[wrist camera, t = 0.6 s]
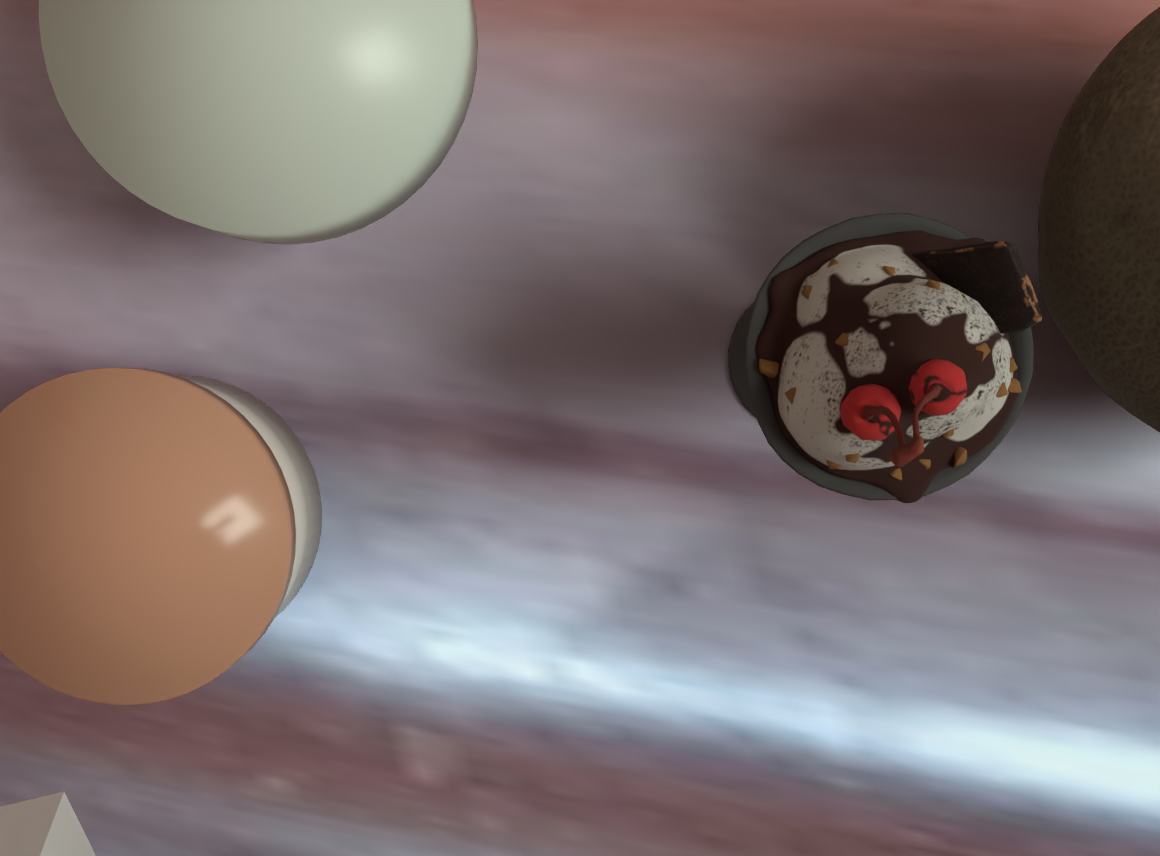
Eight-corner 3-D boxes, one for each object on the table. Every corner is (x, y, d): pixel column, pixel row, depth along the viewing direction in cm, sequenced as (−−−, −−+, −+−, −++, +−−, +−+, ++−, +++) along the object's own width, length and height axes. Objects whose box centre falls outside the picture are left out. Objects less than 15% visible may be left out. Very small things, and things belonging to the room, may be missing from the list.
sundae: (710, 468, 33) (795, 556, 18) (695, 267, 33) (769, 191, 18) (908, 452, 33) (1156, 528, 18) (895, 249, 33) (1139, 158, 18)
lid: (551, 115, 28) (545, 91, 25) (220, 316, 28) (183, 312, 26) (346, -236, 27) (320, -295, 25) (15, -23, 28) (-43, -60, 25)
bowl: (395, 556, 34) (351, 598, 28) (160, 693, 35) (68, 764, 29) (248, 312, 33) (170, 303, 28) (11, 456, 34) (-115, 478, 28)
